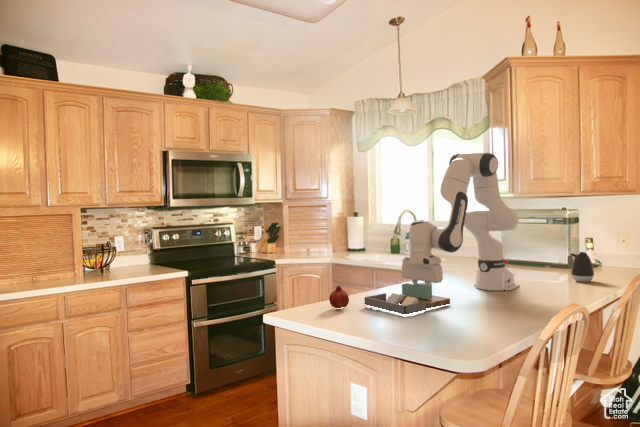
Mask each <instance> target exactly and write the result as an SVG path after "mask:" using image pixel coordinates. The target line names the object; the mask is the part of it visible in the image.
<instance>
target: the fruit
mask: <svg viewBox="0 0 640 427" xmlns="http://www.w3.org/2000/svg"><path fill="white" fill-rule="evenodd" d="M328 297H329V298H328V300H329V301H328V302H329V304H330V306H332V307H333V308H334V307H335V308H341V307H345V308H346V307H347V306H348V305H349V303H350V298H349V295H348V292H346V290H343V289H342V287H341V285H336V287H335V290H334V291H332V292H331V293H330V295H329V296H328ZM335 308H334V309H335Z"/></svg>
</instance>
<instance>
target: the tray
mask: <svg viewBox="0 0 640 427" xmlns="http://www.w3.org/2000/svg"><path fill="white" fill-rule="evenodd" d="M386 300H387V293H384V292H383V293H379V294H375V295H368V296H365V297H364V305H365V304H366V305H370V306H374V307H378V308H382V309H386V310H389V311H394V312H398V313H401V314H409V313H413V312H418V311H422V310H426V302H425V301H424V302H419V303H415V304H410V305H406V306H404V305H399V304H395V303H391V302H386Z"/></svg>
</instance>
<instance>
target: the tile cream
mask: <svg viewBox="0 0 640 427" xmlns="http://www.w3.org/2000/svg"><path fill="white" fill-rule="evenodd" d="M418 302H419V301H418V300H417V298H414V297H409V296H407V297H406V299H405V300H404V301H403V302H402V304H401V305H404V306H406V305H410V304H415V303H418Z"/></svg>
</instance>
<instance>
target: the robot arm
mask: <svg viewBox="0 0 640 427" xmlns="http://www.w3.org/2000/svg"><path fill="white" fill-rule="evenodd" d="M498 167H499V160H498V158H497V156H496V155H495V154H494V153H491V152H479V151H477V152H476V151H474V152H473V151H472V152H457V153H454V154H453V155H452V156H451V157H450V160H449V162H448V166H447V169H446V171H445V174H444V176H443V178H442V181H441V185H440V189H439V190H440V195H441V196H442V198H443V199H444V200H445V201H446V202H448V203H449V204H450V205H451V211H450V215H449V221H448V224H447V226H446V227H440V226H437V225H435V224H432V223H431V222H429V220H427V219H422V220H416V221H413V222H411V223H410V226H409V233H408V234H409V241H408V242H409V244H410V245H409V246H410V249H409V257H408V256H406V257H404V258H403V259H402V264H401V276H402V278H403V279H406V280H407V279H409V280H412V281H411V283H412V284H413V285H416V284H417V283H418V282H419V281H421V282H422V281H423V282H425V284H426V285H425V287H429V286H430V284H431V283H432V284H437V283H442V281H443V279H444V277H443V276H444V275H443V267H442V265H441V264H442V259H441V258H440V257H438V256H436V255H435V254H432V250H439V251H444V252H447V253H455V252H457V251H458V250H460V248H461V247H462V245H463V242H464V233H463V232H464V228H465V229H466V230H467V231H469V233H470V234H472V236H473V237H474V238H475V240H476V243H477V248H478V249H477V250H478V259H477V267H478V269H476V277H475V279H476V281H475V283H474V284H473V285H474V286H475V288H476V289H477V290H484V291H504V290H505V291H508V290H509V291H511V290H514V289H516V288H519V287H520V284H519V283H517V282H515V276H514V274H513V273H512V272H511V271H510V270H509V269H508V268H507V267H506V264H508V263H509V260H508V259H504V253H503V252H504V249H503V243H502V242H501V240H499V239H497V238H495V237H493V236H492V235H491V234H490V232H507V231H513V230H515V229H516V228H517V226H518V224H519V220H520V219H519V216H518V214H517V212H516V210H514V209H513V208H510V207H509V206H508V205H507V204H506V203H505V202H504V201H503V199H502V197H501V193H500V188H499V187H500V186H499V180H498V174H497V170H498ZM471 178H472V185H473V192H474V199H475V200H476V202H477V204H478V203H479V204H481V205H482V206H483V207H486V208H478V209H477V208H475V209H470V210H468V205H469V203H468V202H469V200H468V196H467V193H468V189H469V185H470V181H471Z"/></svg>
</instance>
